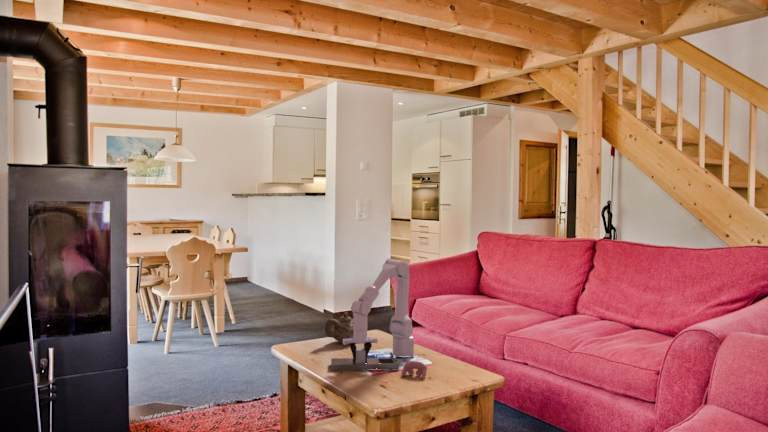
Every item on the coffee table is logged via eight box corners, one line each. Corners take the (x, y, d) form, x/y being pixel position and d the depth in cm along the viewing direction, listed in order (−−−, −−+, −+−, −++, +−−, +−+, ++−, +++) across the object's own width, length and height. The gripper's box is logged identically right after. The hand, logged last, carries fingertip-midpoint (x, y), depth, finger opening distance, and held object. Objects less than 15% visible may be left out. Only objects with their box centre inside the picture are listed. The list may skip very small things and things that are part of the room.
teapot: (354, 336, 280) (355, 307, 279) (369, 342, 271) (369, 311, 270) (319, 343, 266) (319, 312, 265) (332, 349, 257) (333, 317, 256)
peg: (363, 361, 237) (363, 348, 236) (365, 365, 233) (365, 350, 233) (354, 362, 236) (354, 348, 235) (355, 365, 232) (356, 351, 232)
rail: (396, 363, 240) (396, 357, 239) (398, 370, 232) (398, 364, 232) (331, 364, 237) (331, 358, 237) (331, 370, 229) (331, 364, 229)
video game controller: (426, 381, 224) (428, 363, 227) (424, 379, 220) (426, 361, 223) (403, 377, 227) (405, 360, 230) (400, 376, 223) (402, 358, 226)
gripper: (375, 325, 239) (374, 356, 240) (341, 326, 235) (341, 358, 236) (378, 329, 232) (378, 361, 233) (344, 331, 229) (344, 363, 229)
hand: (359, 360), depth 234 cm, fingers closed on peg, 4 cm apart
